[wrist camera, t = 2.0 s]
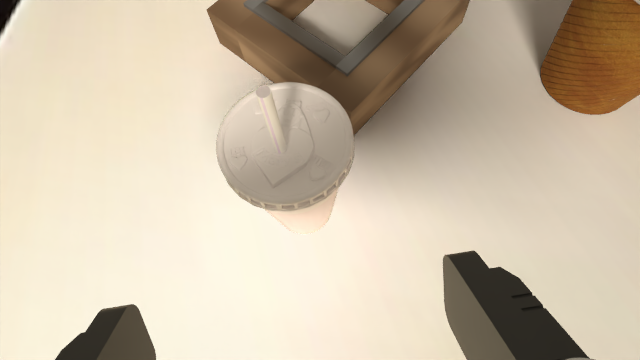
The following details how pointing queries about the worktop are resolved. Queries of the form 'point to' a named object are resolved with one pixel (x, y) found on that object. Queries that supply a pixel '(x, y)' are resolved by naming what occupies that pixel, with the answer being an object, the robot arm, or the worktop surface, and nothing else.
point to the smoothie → (287, 152)
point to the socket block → (327, 63)
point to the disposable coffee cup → (595, 56)
